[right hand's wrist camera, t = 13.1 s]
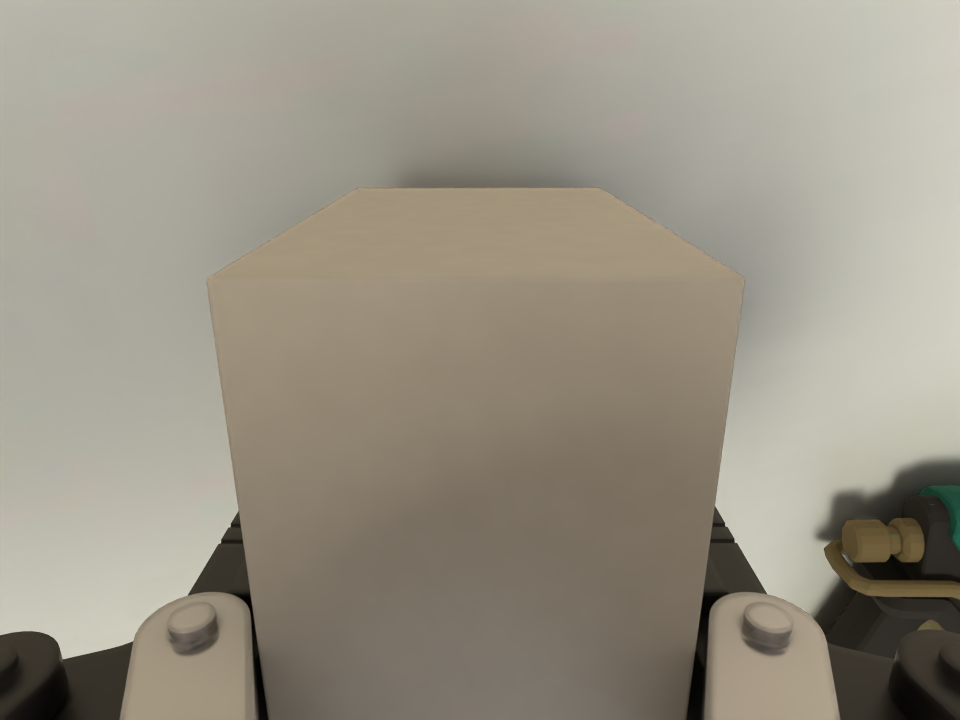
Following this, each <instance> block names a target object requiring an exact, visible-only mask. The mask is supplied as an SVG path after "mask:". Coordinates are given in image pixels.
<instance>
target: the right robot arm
mask: <svg viewBox="0 0 960 720" xmlns="http://www.w3.org/2000/svg"><path fill="white" fill-rule="evenodd" d="M0 720H268V713H267V706H266V699H265V692H264V685H263V678H262V671H261V664H260V657H259V650H258V643H257V636H256V628H255V621H254V614H253V607H252V600H251V593H250V586H249V579H248V572H247V565H246V558H245V550H244V543H243V536H242V529H241V522H240V515H239V511H238V513H237V515H236V516H235V518H234V520H233V521H232V523H231V528H228V529H227V531H226V533H225V534H224V536H223V538H222V539H221V544H218V546H217V548H216V549H215V551H214V553H213V554H212V556H211V558H210V559H209V561H208V563H207V564H206V566H205V568H204V569H203V571H202V573H201V574H200V576H199V578H198V579H197V581H196V583H195V584H194V586H193V588H192V589H191V591H190V593H189V594H188V596H185V597H183V598H180V599H177V600H175V601H173V602H170V603H168V604H166V605H165V606H163V607H161V608H160V609H158V610H157V611H156V612H154V613H153V614H151V615H150V616H149V617H148V618H147V619H146V620H145V621H144V622H143V624H142V625H141V626H140V627H139V629H138V631H137V633H136V634H135V638H134V641H133V642H130V643H128V644H125V645H122V646H119V647H115V648H111V649H107V650H103V651H98V652H94V653H90V654H85V655H81V656H76V657H72V658H68V659H62V655H61V652H60V648H59V645H58V643H57V642H56V640H55V639H54V638H52V637H51V636H49V635H47V634H44V633H40V632H33V631H23V632H15V633H9V634H4V635H0ZM686 720H960V634H958V633H954V632H949V631H944V630H935V629H924V630H916V631H913V632H910V633H908V634H906V635H905V636H903V638H902V639H901V640H900V642H899V644H898V647H897V651H896V655H895V659H892V658H888V657H883V656H879V655H874V654H870V653H866V652H861V651H857V650H852V649H848V648H844V647H840V646H836V645H833V644H830V643H827V641H826V638H825V634H824V633H823V631H822V629H821V627H820V626H819V625H818V624H817V622H816V621H815V620H814V619H813V618H812V617H811V616H810V615H809V614H807V613H806V612H805V611H803V610H802V609H800V608H799V607H797V606H795V605H794V604H792V603H790V602H787V601H785V600H783V599H780V598H777V597H775V596H771V595H767V593H766V591H765V590H764V588H763V586H762V585H761V583H760V581H759V580H758V578H757V576H756V575H755V573H754V571H753V569H752V568H751V566H750V564H749V563H748V561H747V559H746V558H745V556H744V554H743V553H742V551H741V549H740V548H739V546H738V544H737V543H735V542H734V537H733V536H732V534H731V532H730V531H729V529H728V527H725V522H724V521H723V519H722V517H721V515H720V514H719V512H718V510H717V509H716V507H715V508H714V515H713V523H712V530H711V538H710V545H709V553H708V560H707V568H706V575H705V583H704V590H703V598H702V605H701V613H700V620H699V628H698V635H697V643H696V650H695V658H694V665H693V673H692V680H691V688H690V695H689V703H688V710H687V718H686Z"/></svg>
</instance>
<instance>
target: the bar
mask: <svg viewBox="0 0 960 720" xmlns="http://www.w3.org/2000/svg"><path fill="white" fill-rule="evenodd" d="M744 283H745V281H744V278H743V277H742V276H741V275H739V274H738V273H736V272H734V271H733V270H731V269H730V268H728V267H726V266H725V265H723V264H722V263H720V262H718V261H717V260H715V259H714V258H712V257H710V256H709V255H707V254H706V253H704V252H702V251H701V250H699V249H698V248H696V247H694V246H693V245H691V244H690V243H688V242H686V241H685V240H683V239H682V238H680V237H678V236H677V235H675V234H674V233H672V232H670V231H669V230H667V229H666V228H664V227H662V226H661V225H659V224H658V223H656V222H654V221H653V220H651V219H650V218H648V217H646V216H645V215H643V214H642V213H640V212H638V211H637V210H635V209H633V208H632V207H630V206H629V205H627V204H625V203H624V202H622V201H621V200H619V199H617V198H616V197H614V196H613V195H611V194H609V193H608V192H606V191H605V190H603V189H601V188H357V189H355V190H353V191H351V192H350V193H348V194H346V195H345V196H343V197H341V198H340V199H338V200H336V201H335V202H333V203H331V204H330V205H328V206H326V207H325V208H323V209H321V210H320V211H318V212H316V213H315V214H313V215H311V216H310V217H308V218H306V219H305V220H303V221H301V222H300V223H298V224H296V225H295V226H293V227H291V228H290V229H288V230H286V231H285V232H283V233H281V234H280V235H278V236H276V237H275V238H273V239H271V240H270V241H268V242H266V243H265V244H263V245H261V246H260V247H258V248H256V249H255V250H253V251H251V252H250V253H248V254H246V255H245V256H243V257H241V258H240V259H238V260H236V261H235V262H233V263H231V264H230V265H228V266H227V267H225V268H223V269H222V270H220V271H218V272H217V273H215V274H213V275H212V276H210V277H208V279H207V288H208V295H209V302H210V310H211V317H212V324H213V331H214V338H215V345H216V352H217V359H218V366H219V373H220V380H221V387H222V395H223V402H224V409H225V416H226V423H227V430H228V437H229V444H230V451H231V458H232V465H233V473H234V480H235V487H236V494H237V501H238V508H239V515H240V522H241V529H242V536H243V543H244V550H245V558H246V565H247V572H248V579H249V586H250V593H251V600H252V607H253V614H254V621H255V628H256V636H257V643H258V650H259V657H260V664H261V671H262V678H263V685H264V692H265V699H266V706H267V713H268V720H686V718H687V710H688V703H689V695H690V688H691V680H692V673H693V665H694V658H695V650H696V643H697V635H698V628H699V620H700V613H701V605H702V598H703V590H704V583H705V575H706V568H707V560H708V553H709V545H710V538H711V530H712V523H713V515H714V508H715V500H716V493H717V485H718V478H719V470H720V463H721V455H722V448H723V440H724V433H725V425H726V418H727V410H728V403H729V395H730V388H731V380H732V373H733V365H734V358H735V350H736V343H737V335H738V328H739V320H740V313H741V305H742V298H743V290H744Z"/></svg>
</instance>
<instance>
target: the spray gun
mask: <svg viewBox="0 0 960 720" xmlns="http://www.w3.org/2000/svg"><path fill="white" fill-rule="evenodd" d="M824 551H825V556H826V558H827V559H828V561H829V563H830V565H831V567H832V568H833V569H834V571H835V572H836V573H837V574H838V575H839V576H840V577H841V578H842V579H843V580H844V581H845V582H846V583H847V584H848V586H849V587H850V588H852V589H854V590H856V591H857V593H856V594H855V596H854V597H853V599H852V600H851V601H850V603H849V604H848V606H847V607H846V609H845V610H844V611H843V613H842V614H841V616H840V617H839V619H838V620H837V621H836V623H835V624H834V626H833V627H832V629H831V630H830V631H829V633H828V634H827V636H826V637H825V638H826V641H827V643H830V644H833V645H836V646H840V647H844V648H848V649H852V650H857V651H861V652H866V653H870V654H874V655H879V656H883V657H888V658H892V659H895V655H896V651H897V647H898V644H899V642H900V640H901V639H902V638H903V636H905V635H906V634H908V633H910V632H913V631H916V630H924V629H935V630H944V631H949V632H954V633H958V634H960V485H939V486H927V487H925V488H924V489H922V490H921V491H920V493H919V495H913V496H911V497H910V498H908V499H907V500H906V501H905V502H904V507H903V512H902V517H901V518H895V519H893V520H892V521H891V522H890V523H889V524H888V526H885V525H884V523H883V522H881V521H880V520H878V519H862V520H847V521H846V523H845V524H844V526H843V528H842V540H834V541H832V542H830V543H829V544H828V545H827V546H826V547H825V548H824ZM842 554H847V555H848V557H849V558H850V560H852V561H853V562H854V565H853V568H852V567H851V566H850V565H849V564H848V563H847V562H846V560H845V559H844V557H843V556H842ZM891 554H892V555H891Z"/></svg>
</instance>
